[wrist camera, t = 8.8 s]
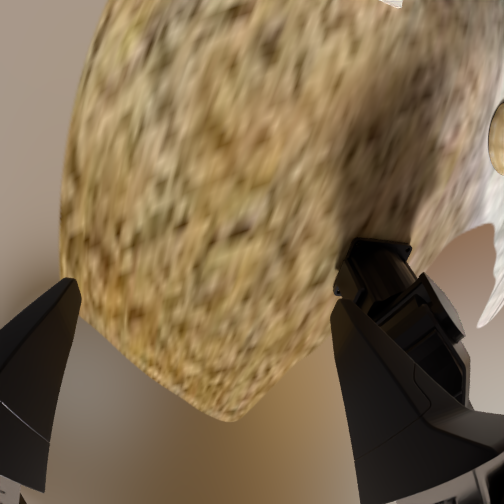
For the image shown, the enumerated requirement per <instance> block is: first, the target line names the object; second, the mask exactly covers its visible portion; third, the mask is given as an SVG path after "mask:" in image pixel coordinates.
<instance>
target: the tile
mask: <svg viewBox="0 0 504 504" xmlns="http://www.w3.org/2000/svg"><path fill="white" fill-rule="evenodd" d="M379 1H382V2H384V3H387V4H389V5H391V6H393V7H396V8H402V1H403V0H379Z"/></svg>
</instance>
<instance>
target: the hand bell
mask: <svg viewBox="0 0 504 504" xmlns="http://www.w3.org/2000/svg"><path fill="white" fill-rule="evenodd" d="M489 155H490V159H491V162H492V165H493V167H494V168H495V170H496V171H497V172H498V173H500V174H501V175H504V102H503V103H502V104H501V105H500V106H499V108H498V109H497V111H496V113H495V115H494V118H493V120H492V123H491V127H490V132H489Z"/></svg>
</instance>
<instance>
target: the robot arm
mask: <svg viewBox="0 0 504 504" xmlns="http://www.w3.org/2000/svg"><path fill="white" fill-rule="evenodd" d="M357 243H359V244H358V245H356V244H357ZM407 248H408V249H407ZM411 251H412V247H411V245H410V244H408V243H401V242H393V241H385V240H376V239H368V238H355V239H354V240H353V241H352V244H351V246H350V249H349V252H348V254H347V257H346V259H345V260H344V261H343V264H342V266H341V269H340V271H339V274H338V276H337V279H336V284H335V286H334V289H333V292H334V294H335V295H336V296H342V298H341V299H338V301H337V302H336V305H335V307H334V309H333V311H332V313H331V316H330V323H331V331H332V340H333V349H334V358H335V363H336V367H337V372H338V377H339V382H340V386H341V391H342V396H343V401H344V406H345V411H346V417H347V422H348V427H349V433H350V438H351V444H352V450H353V456H354V460H355V461H354V463H355V469H356V475H357V483H358V490H359V497H360V503H361V504H386V503H390V502H393V501H396V503H397V504H504V415H501V414H493V413H486V412H479V411H474V409H473V407H472V405H471V403H470V400H469V386H470V356H469V354H468V352H467V350H466V349H465V347H464V345H463V344H462V342H461V339H462V338H464V337H465V336H466V335H465V332H464V329H463V326H462V323H461V320H460V318H459V315H458V313H457V311H456V309H455V308H454V306H453V305H452V303H451V302H450V300H449V299H448V297H447V296H446V295H445V293H444V292H443V291H442V290H441V289H440V288H439V287H438V286H437V285H436V284H435V283H434V282H433V281H432V280H431V279H430V278H429V277H428V275H426V273H425V272H423V273H422V274H421V275H420V276H419V278H417V277H416V275H415V274H414V272H413V271H412V269H411V268H410V266H409V265H408V263H407V262H406V261H407V259H408V257H409V255H410V253H411ZM338 290H339V291H338ZM81 300H82V298H81V293H80V290H79V287H78V284H77V281H76V279H74V278H67V277H66V278H63V279H62V280H61V281H59V282H58V283H57V284H55V285H54V286H53V287H51V289H49V290H48V291H46V292H45V293H44V294H43V295H41V296H40V297H39V298H37V299H36V300H35V301H34V302H32V303H31V304H30V305H29V306H28V307H26V308H25V309H24V310H23V311H22V312H20V313H19V314H18V315H17V316H16V317H14V318H13V319H12V320H11V321H10V322H9V323H7V324H6V325H5V326H4V327H3V328H2V329H0V504H26V502H25V500H24V498H23V497H22V495H21V493H20V488H21V485H24V486H26V487H29V488H31V489H34V490H37V491H39V492H42V493H44V492H45V482H46V470H47V461H48V453H49V446H50V443H49V442H50V438H51V432H52V426H53V420H54V415H55V410H56V405H57V400H58V396H59V392H60V387H61V383H62V379H63V375H64V371H65V367H66V363H67V359H68V356H69V352H70V349H71V346H72V342H73V338H74V334H75V329H76V324H77V319H78V315H79V310H80V306H81Z"/></svg>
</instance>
